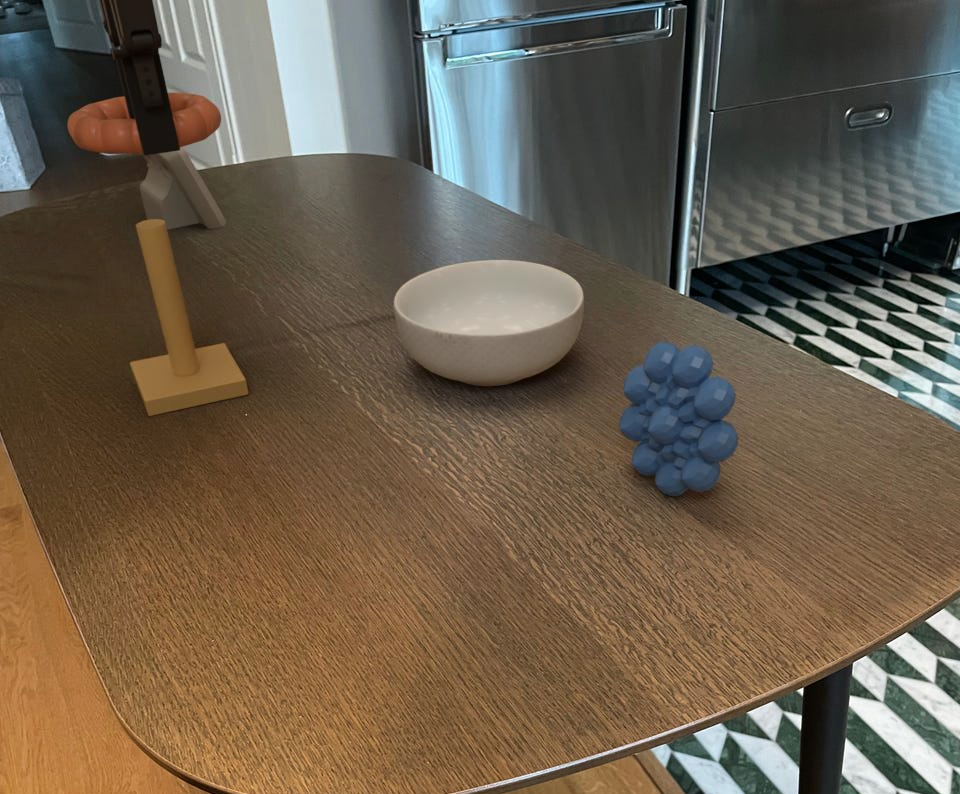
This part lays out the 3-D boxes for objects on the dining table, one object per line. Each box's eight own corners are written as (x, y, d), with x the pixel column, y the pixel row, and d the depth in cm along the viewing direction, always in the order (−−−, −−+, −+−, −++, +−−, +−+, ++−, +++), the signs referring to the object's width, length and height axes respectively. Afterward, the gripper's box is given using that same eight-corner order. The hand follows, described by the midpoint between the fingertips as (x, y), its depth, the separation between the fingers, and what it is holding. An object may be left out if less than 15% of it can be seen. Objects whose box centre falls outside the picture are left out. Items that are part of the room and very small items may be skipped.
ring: (65, 134, 84) (57, 102, 83) (204, 114, 88) (198, 84, 86) (84, 165, 76) (74, 131, 74) (236, 142, 79) (230, 108, 78)
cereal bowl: (363, 373, 93) (353, 298, 88) (488, 317, 102) (485, 246, 97) (494, 430, 84) (491, 349, 79) (619, 363, 92) (623, 287, 88)
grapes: (767, 511, 73) (794, 354, 65) (694, 540, 70) (713, 381, 62) (666, 445, 80) (679, 298, 73) (597, 470, 78) (603, 320, 70)
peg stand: (133, 376, 94) (88, 217, 85) (227, 357, 97) (193, 200, 88) (148, 416, 88) (101, 249, 79) (249, 394, 91) (215, 229, 81)
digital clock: (230, 237, 124) (212, 144, 118) (157, 248, 122) (134, 154, 115) (211, 201, 136) (193, 115, 129) (144, 211, 134) (122, 124, 127)
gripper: (146, -267, 59) (228, 163, 74) (107, -251, 70) (185, 119, 85) (12, -263, 57) (124, 179, 72) (-6, -247, 68) (95, 132, 83)
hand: (157, 146), depth 78 cm, fingers closed on ring, 3 cm apart
